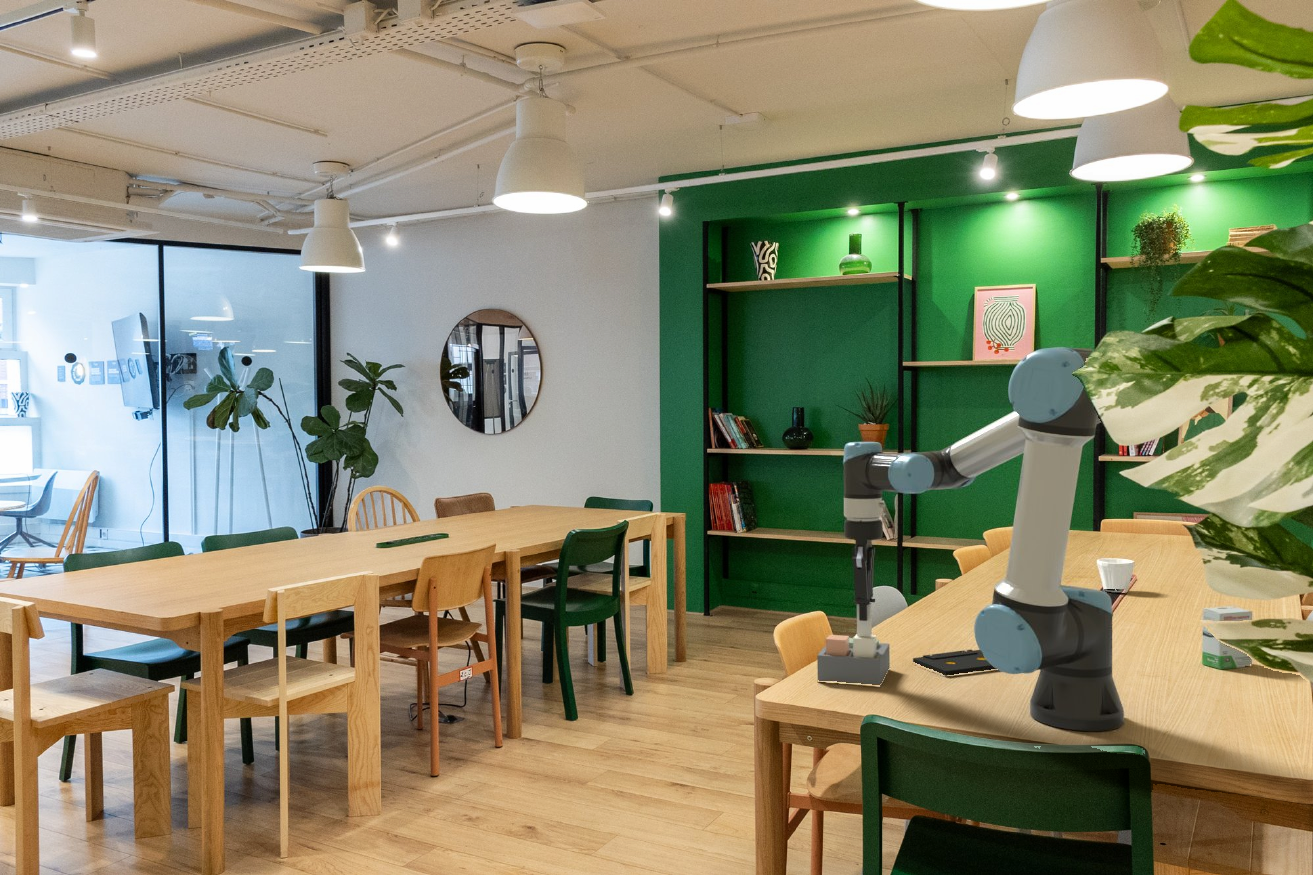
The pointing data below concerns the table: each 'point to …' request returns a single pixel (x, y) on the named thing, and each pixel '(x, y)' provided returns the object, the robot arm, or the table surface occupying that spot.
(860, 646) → the cream block
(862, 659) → the grey open box
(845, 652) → the pink block
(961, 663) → the black flat panel
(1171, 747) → the table surface
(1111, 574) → the cup
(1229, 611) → the ink box
